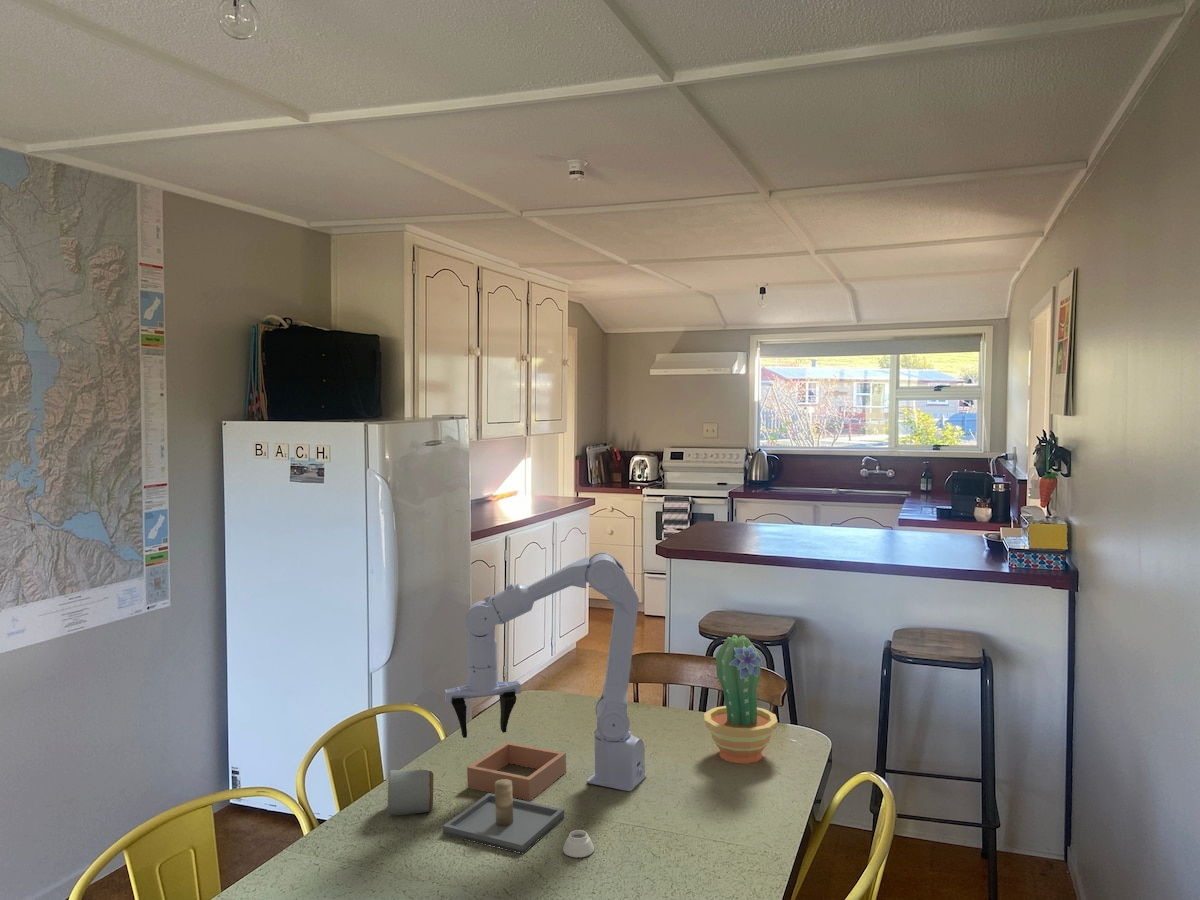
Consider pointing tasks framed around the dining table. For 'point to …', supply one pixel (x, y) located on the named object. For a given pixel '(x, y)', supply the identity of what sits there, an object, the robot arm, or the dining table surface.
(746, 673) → the potted cactus
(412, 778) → the ceramic mug
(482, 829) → the slate tray
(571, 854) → the white jar
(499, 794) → the maple pin
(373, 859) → the dining table surface
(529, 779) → the terracotta planter box
